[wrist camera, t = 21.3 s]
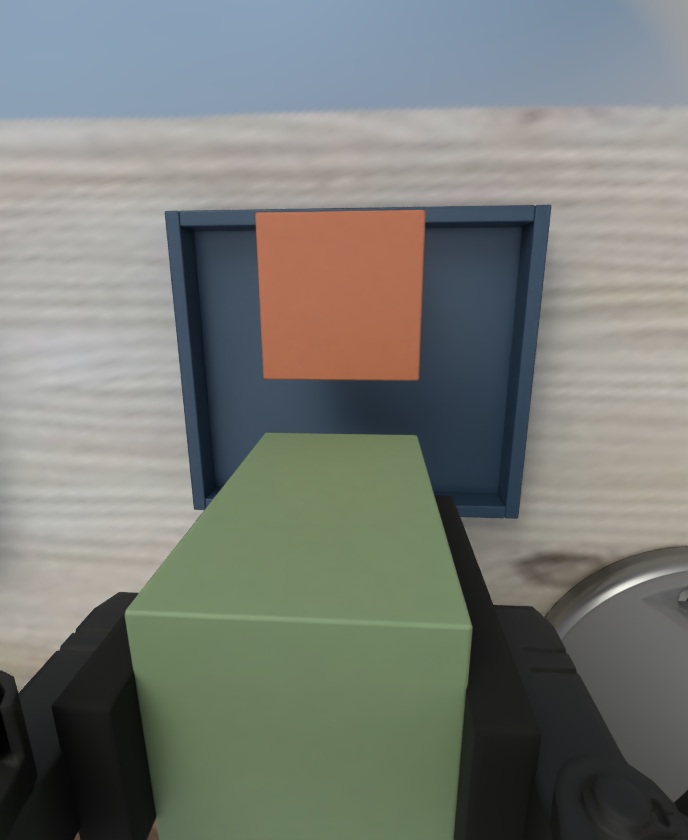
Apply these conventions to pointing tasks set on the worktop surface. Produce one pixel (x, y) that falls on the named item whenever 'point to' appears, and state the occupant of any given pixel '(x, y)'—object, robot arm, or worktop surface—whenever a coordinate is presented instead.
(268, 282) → the block
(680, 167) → the worktop surface
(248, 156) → the worktop surface
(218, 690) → the block
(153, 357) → the worktop surface
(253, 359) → the tray
